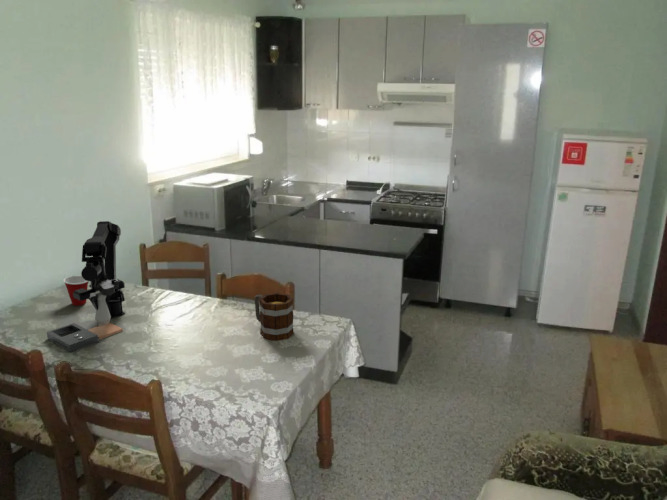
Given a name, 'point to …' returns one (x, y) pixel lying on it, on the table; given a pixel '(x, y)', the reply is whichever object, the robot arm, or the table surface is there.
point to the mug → (275, 315)
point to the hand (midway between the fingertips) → (101, 309)
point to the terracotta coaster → (105, 330)
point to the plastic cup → (75, 287)
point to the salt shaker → (102, 310)
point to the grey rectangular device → (72, 337)
